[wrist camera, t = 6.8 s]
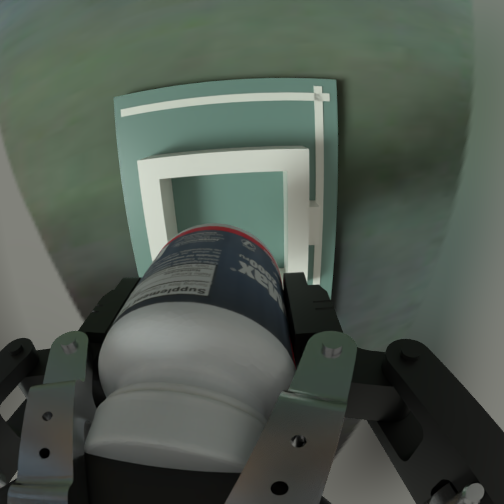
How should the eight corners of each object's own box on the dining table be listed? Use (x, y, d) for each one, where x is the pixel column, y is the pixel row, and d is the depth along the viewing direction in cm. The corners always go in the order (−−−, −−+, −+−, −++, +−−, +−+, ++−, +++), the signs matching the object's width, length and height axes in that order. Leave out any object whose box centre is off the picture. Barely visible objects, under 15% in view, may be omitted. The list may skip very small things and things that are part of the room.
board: (119, 98, 17) (95, 95, 14) (332, 81, 17) (348, 73, 14) (156, 325, 24) (145, 352, 21) (325, 320, 24) (334, 348, 21)
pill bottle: (295, 313, 13) (330, 509, 5) (188, 341, 14) (148, 518, 6) (256, 200, 11) (266, 399, 3) (135, 244, 12) (9, 414, 4)
